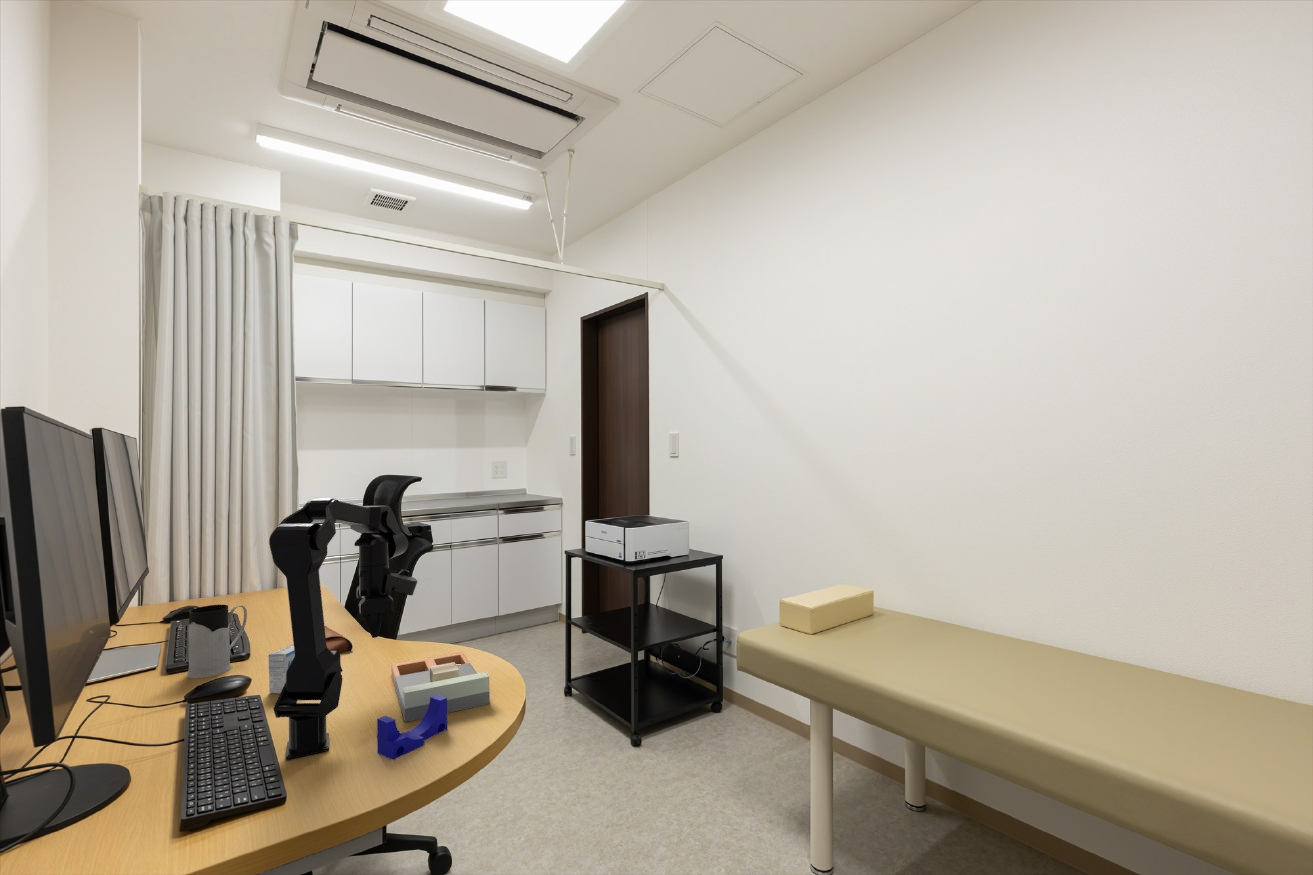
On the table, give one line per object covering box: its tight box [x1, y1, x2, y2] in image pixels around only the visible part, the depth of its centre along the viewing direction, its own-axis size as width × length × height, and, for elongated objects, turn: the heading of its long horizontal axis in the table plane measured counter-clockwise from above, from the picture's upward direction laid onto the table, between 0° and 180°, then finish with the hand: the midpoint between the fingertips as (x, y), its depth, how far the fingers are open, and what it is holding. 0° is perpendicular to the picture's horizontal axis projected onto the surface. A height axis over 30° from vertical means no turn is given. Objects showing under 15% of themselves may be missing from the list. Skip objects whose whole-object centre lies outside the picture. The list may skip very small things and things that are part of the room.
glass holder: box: [186, 604, 248, 679], centre depth 147 cm, size 9×14×15 cm, turn 166°
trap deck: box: [390, 651, 491, 723], centre depth 131 cm, size 28×16×6 cm, turn 29°
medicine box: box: [268, 643, 295, 695], centre depth 134 cm, size 8×4×9 cm, turn 168°
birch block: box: [430, 662, 459, 682], centre depth 125 cm, size 5×5×4 cm
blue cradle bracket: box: [376, 694, 448, 761], centre depth 107 cm, size 12×4×6 cm, turn 147°
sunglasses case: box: [324, 625, 353, 654], centre depth 161 cm, size 18×7×7 cm, turn 46°
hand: (374, 637), depth 129 cm, fingers closed
